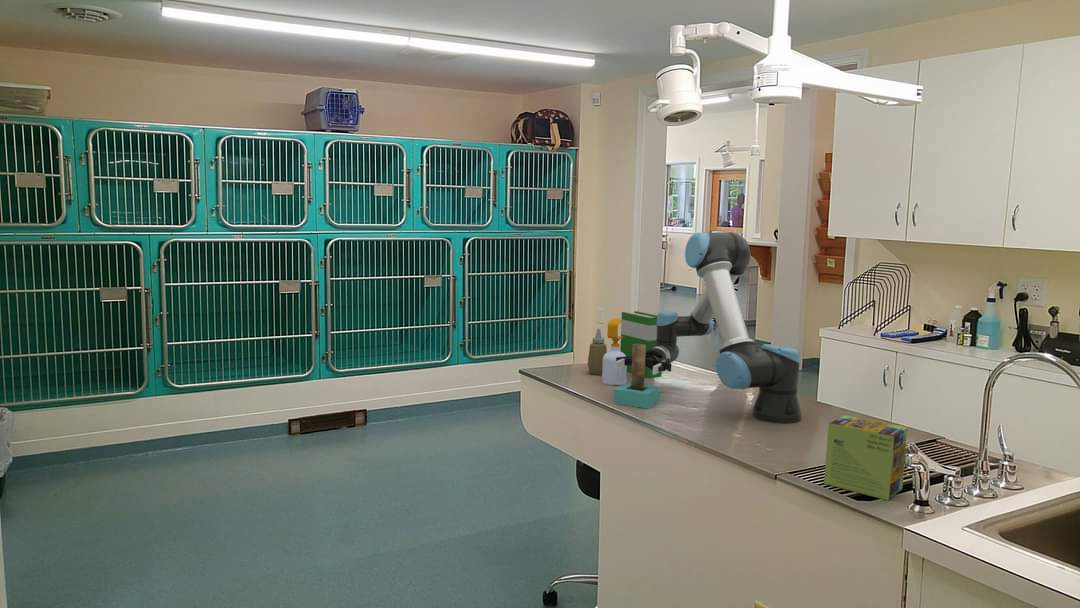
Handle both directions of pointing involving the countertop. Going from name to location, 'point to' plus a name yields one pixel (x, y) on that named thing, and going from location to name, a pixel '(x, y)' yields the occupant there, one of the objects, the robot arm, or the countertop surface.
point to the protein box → (865, 456)
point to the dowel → (638, 367)
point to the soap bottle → (613, 358)
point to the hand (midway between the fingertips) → (634, 368)
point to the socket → (637, 396)
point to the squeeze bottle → (596, 354)
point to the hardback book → (638, 335)
